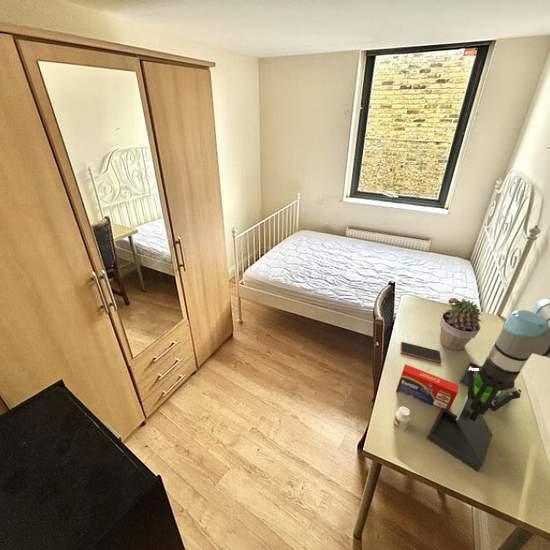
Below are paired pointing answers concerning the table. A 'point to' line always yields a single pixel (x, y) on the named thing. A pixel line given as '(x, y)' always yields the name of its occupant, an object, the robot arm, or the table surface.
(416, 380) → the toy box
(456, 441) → the dark grey box base
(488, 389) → the cup
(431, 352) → the smartphone
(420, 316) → the table surface
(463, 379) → the tray
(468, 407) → the lid
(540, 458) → the table surface
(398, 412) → the pill bottle
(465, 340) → the potted plant
